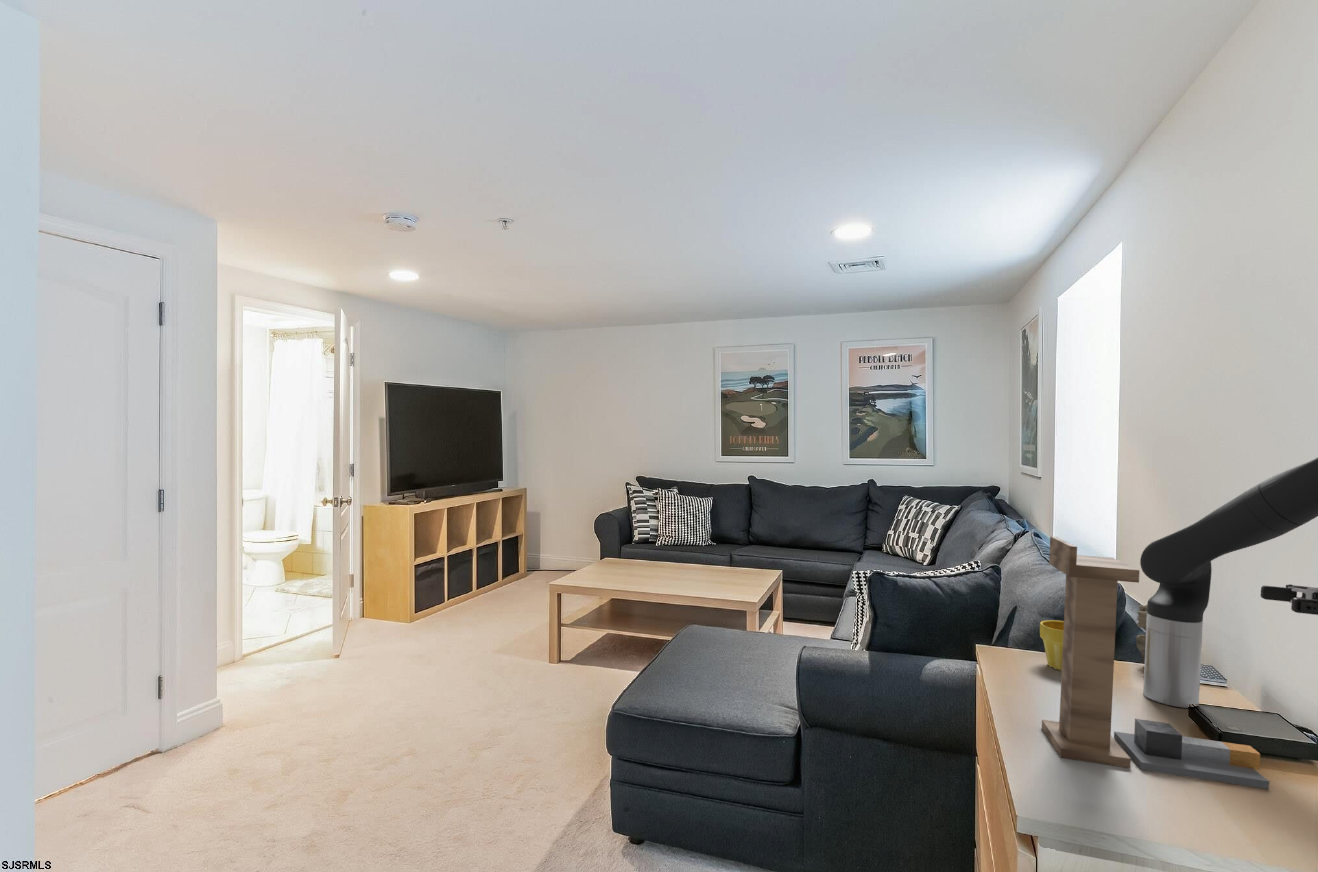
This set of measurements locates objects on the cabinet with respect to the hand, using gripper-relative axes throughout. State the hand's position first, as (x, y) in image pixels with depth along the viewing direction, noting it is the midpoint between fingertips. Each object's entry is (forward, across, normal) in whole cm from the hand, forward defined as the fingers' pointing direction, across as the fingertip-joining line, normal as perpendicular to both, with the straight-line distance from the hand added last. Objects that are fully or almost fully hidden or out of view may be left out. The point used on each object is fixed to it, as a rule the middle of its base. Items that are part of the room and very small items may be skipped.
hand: (1276, 598), depth 111 cm
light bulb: (-2, -52, +29) cm, 59 cm away
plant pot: (+18, -44, +29) cm, 56 cm away
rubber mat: (+12, +2, +28) cm, 31 cm away
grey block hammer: (+11, +2, +27) cm, 29 cm away
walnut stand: (+27, +2, +28) cm, 39 cm away
